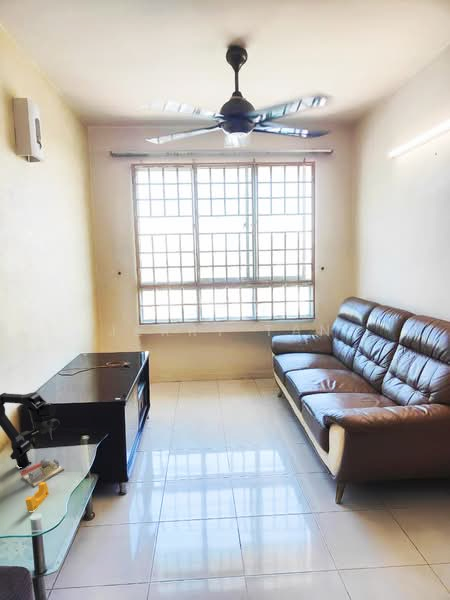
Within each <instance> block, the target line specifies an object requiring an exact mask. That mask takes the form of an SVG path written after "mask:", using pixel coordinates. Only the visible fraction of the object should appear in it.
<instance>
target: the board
mask: <svg viewBox="0 0 450 600" xmlns="http://www.w3.org/2000/svg"><path fill="white" fill-rule="evenodd" d="M49 461H50V462H53V460H50V459H49ZM38 469H39V468H37V469H35V470H33V471H31V472H29V473H33V472H35V471H36V470H38ZM64 471H65V468H64V467H62V466H61V465H59V468H56V469H55V471H54V472H52V473H50V474H48V475H47V476H42V477H40V478H39V479H37V480H35V481H34V482H31V481H30V480H29V476H28V473H27V474H25V475H23V476H21V478H22V479H23V480H25V481H26V482H28V483H29V484H30V485H31V486H33V487H34V488H36V487H37V486H38V487H39V484H40V483H41V482H47V481H48V480H50V479H51V478H53V477H54V476H56V475H58V474H60V473H62V472H64Z"/></svg>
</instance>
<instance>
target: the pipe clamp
mask: <svg viewBox="0 0 450 600" xmlns="http://www.w3.org/2000/svg"><path fill="white" fill-rule="evenodd" d="M49 495H50V492H49V489H48V484H47V481H45V482H41V483H40V484H39V485H38V489H37V491H36V492H35V493H34V495H33V496H27V497H26V499H24V500H25V505H26V507H27V512H28V511H33V510H35V509H36V508H37V507H38V506H39V505H41V504H42V503H43V502H44V501H45V500H46V498H48V496H49ZM39 507H40V506H39ZM39 507H38V508H39ZM38 508H37V509H38ZM37 509H36V510H37ZM36 510H35V511H36Z"/></svg>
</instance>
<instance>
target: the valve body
mask: <svg viewBox="0 0 450 600" xmlns="http://www.w3.org/2000/svg"><path fill="white" fill-rule="evenodd" d="M59 466H60V462H59V460H57V459H55V458H54V459H52V462H50V464H49V465H47V466H44V467H42V466H41V467H39V469H38V470H36V471H35V472H33V473H28V476H29V480H30V481H31V482H34V481H35V480H37V479H39V478H40V477H42V476H47V475H48V474H50V473H52V472H54V471H55V469H56V468H59Z"/></svg>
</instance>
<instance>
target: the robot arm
mask: <svg viewBox="0 0 450 600" xmlns="http://www.w3.org/2000/svg"><path fill="white" fill-rule="evenodd" d="M6 403H7V404H19V405H22V406H24V407H26V408H25V409H24V410H25V411H29V415H30V421H31V423H32V430H30V431H29V430H25V431H23V432H21V433H20V432H19V431H18V430H17V429H16V427H15V426H14V424H13V423H12V422H11V420H10V419H9V417H8V416H7V415H6V407H5V404H6ZM56 414H57V407H56V406H55V405H54V404H53V403H52V402H48V403H47V400H45V399H44V398H43V397H42V396H41V394H39V392H29V393H25V394H19V393H18V394H17V393H8V392H7V393H6V392H2V393H1V394H0V428H1V429H2V430H3V432H4V434H5V435H6V436H7V439H9V440H10V441H11V443H10V444H11V446H10V447H11V450H12V452H11V454H10V455H9V457H10V458H11V460H15V461H16V465H18V466H19V467H22V469H24V468H27V467H28V466H29V464H30V465H31V463H32V461H30V460H29V456H28V452H29V451H31V450H30V449H31V446H32V447H33V448H34V449H37V446H36V443H35V440H34V437H33V435H35V434H37V433H40V434H41V435H44V434H46V433H48V432H49V435H50V438H51V440H52V441H53V440H54V434H55V430H56V429H57V428H58V426H60V425H61V424H60V423H61V422H60V420H59V419H56V418H54V417H53V416H55V415H56ZM45 417H53V418H52V419H49V420H47V421H46V418H45ZM29 461H30V462H29ZM27 465H28V466H27ZM23 467H24V468H23ZM22 469H21V468H20V470H22Z"/></svg>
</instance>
